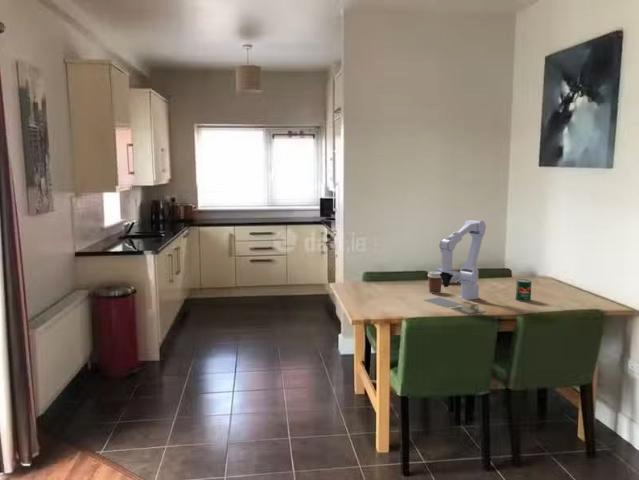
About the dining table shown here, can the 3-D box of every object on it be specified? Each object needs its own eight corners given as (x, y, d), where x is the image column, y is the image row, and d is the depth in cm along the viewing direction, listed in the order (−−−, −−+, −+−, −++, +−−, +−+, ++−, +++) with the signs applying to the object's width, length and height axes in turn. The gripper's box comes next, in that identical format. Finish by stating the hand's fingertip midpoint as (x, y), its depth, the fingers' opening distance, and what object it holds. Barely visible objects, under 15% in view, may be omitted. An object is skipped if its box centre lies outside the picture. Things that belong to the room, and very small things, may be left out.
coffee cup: (443, 294, 310) (443, 274, 308) (427, 293, 312) (427, 273, 310) (442, 291, 319) (443, 271, 317) (427, 290, 321) (427, 270, 319)
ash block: (470, 308, 277) (470, 301, 276) (478, 311, 271) (478, 303, 271) (461, 310, 274) (461, 302, 274) (468, 313, 269) (469, 305, 268)
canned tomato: (521, 302, 292) (522, 282, 291) (512, 298, 300) (513, 279, 299) (533, 301, 295) (534, 281, 293) (524, 297, 302) (525, 278, 301)
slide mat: (439, 298, 301) (439, 297, 301) (485, 312, 272) (485, 311, 272) (422, 300, 295) (422, 300, 295) (468, 315, 266) (468, 314, 266)
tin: (461, 282, 343) (461, 269, 342) (462, 283, 340) (462, 270, 338) (437, 282, 342) (438, 269, 341) (438, 283, 339) (439, 270, 338)
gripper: (431, 260, 290) (431, 284, 292) (450, 264, 278) (450, 290, 280) (441, 259, 294) (440, 283, 296) (460, 263, 282) (460, 288, 283)
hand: (446, 286), depth 288 cm, fingers closed
